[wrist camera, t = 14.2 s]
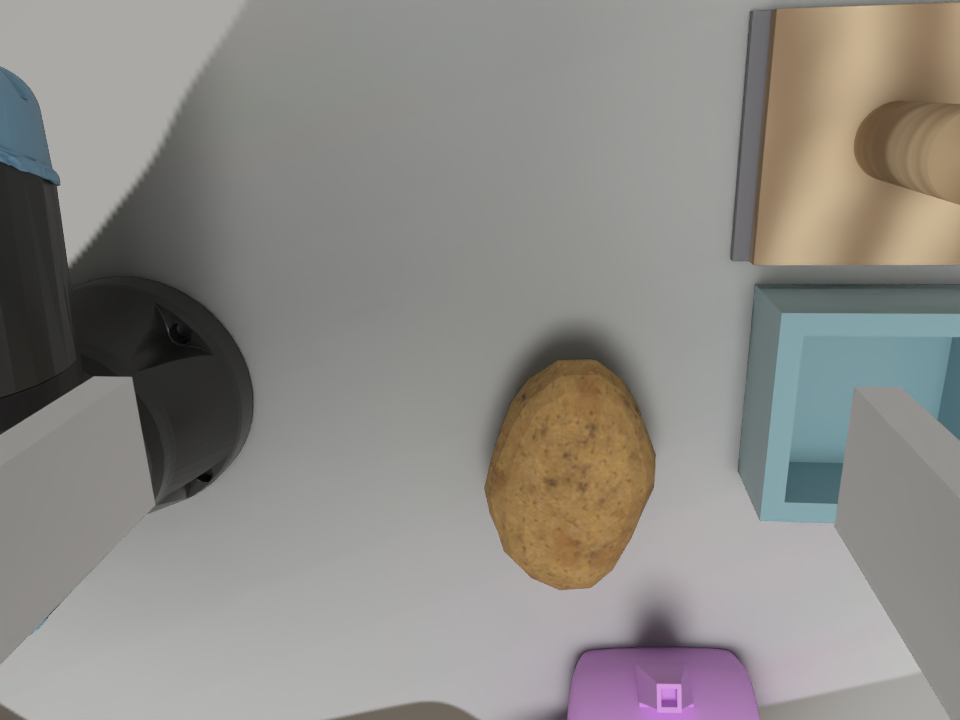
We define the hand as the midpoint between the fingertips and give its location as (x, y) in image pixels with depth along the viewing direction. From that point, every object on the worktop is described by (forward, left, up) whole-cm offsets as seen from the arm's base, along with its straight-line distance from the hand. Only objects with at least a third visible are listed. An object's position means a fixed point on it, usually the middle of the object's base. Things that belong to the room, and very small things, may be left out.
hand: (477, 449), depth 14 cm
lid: (+18, +3, -32) cm, 37 cm away
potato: (+2, -15, -33) cm, 36 cm away
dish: (+18, -11, -33) cm, 39 cm away
